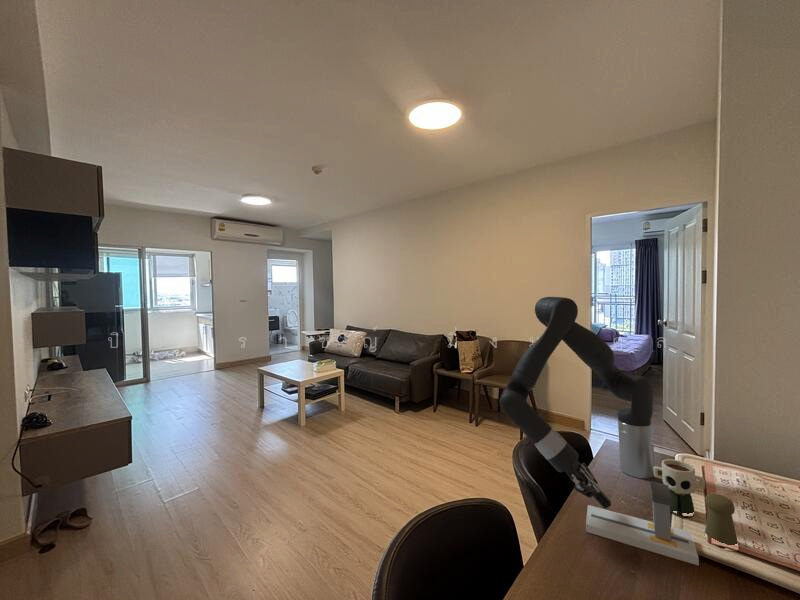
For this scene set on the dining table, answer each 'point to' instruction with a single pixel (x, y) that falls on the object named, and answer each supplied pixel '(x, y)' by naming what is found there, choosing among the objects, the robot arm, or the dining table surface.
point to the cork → (720, 519)
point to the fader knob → (661, 510)
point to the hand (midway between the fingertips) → (608, 505)
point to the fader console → (640, 534)
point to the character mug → (679, 483)
